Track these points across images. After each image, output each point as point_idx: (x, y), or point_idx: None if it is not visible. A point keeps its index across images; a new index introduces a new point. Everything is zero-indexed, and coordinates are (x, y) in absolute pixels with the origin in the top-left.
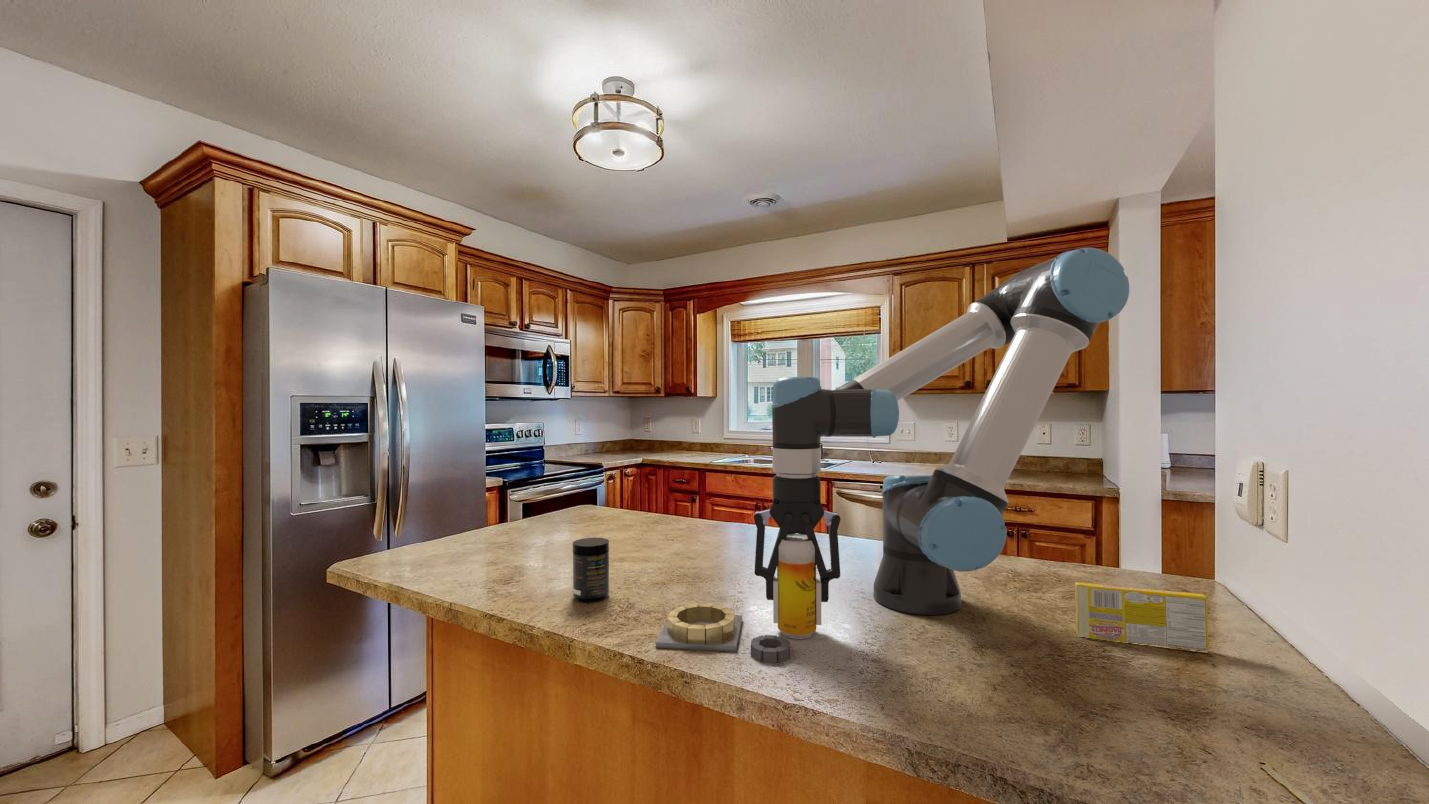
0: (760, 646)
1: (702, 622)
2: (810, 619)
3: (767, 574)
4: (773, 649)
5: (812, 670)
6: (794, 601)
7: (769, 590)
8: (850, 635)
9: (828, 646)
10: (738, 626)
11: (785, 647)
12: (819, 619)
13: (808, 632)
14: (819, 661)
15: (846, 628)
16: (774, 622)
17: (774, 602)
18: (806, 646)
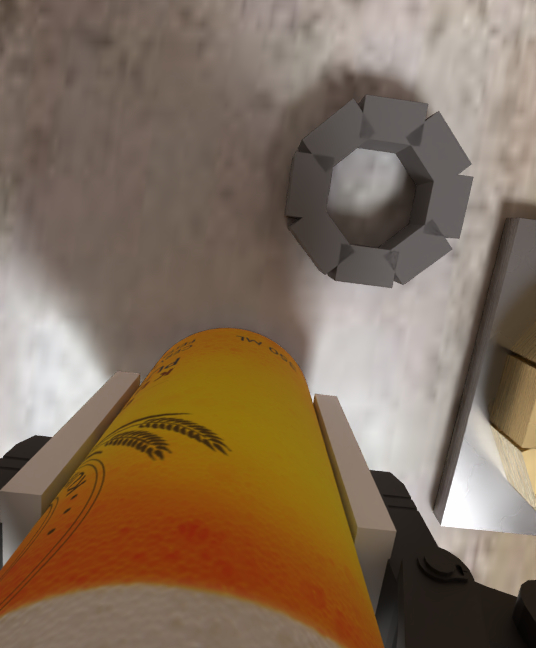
0: (431, 159)
1: None
2: (163, 363)
3: (466, 586)
4: (376, 124)
5: (214, 31)
6: (242, 383)
7: (394, 508)
8: (11, 370)
9: (116, 266)
10: (474, 418)
11: (317, 144)
12: (117, 382)
13: (185, 338)
14: (172, 120)
15: (20, 436)
16: (332, 396)
17: (351, 442)
18: (207, 267)
